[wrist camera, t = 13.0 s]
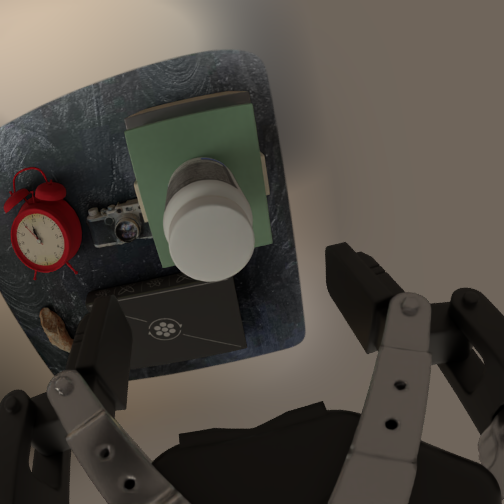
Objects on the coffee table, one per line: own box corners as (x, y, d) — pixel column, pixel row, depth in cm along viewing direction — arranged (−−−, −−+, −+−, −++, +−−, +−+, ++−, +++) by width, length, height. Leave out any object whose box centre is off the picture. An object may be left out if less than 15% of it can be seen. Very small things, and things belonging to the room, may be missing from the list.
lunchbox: (130, 125, 23) (118, 133, 19) (246, 100, 24) (257, 102, 20) (161, 243, 28) (158, 269, 24) (264, 219, 29) (277, 242, 25)
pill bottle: (153, 192, 21) (138, 250, 14) (201, 142, 20) (210, 173, 13) (203, 234, 23) (214, 305, 16) (250, 188, 23) (283, 241, 15)
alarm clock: (26, 286, 37) (-21, 198, 27) (37, 256, 42) (-1, 173, 32) (87, 277, 39) (46, 178, 29) (94, 246, 43) (62, 154, 33)
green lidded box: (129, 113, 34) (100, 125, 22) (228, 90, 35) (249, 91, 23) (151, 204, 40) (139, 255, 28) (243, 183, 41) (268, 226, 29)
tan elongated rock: (59, 298, 45) (33, 306, 43) (59, 311, 42) (31, 319, 40) (80, 345, 50) (56, 352, 48) (82, 359, 47) (57, 366, 45)
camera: (85, 207, 38) (76, 219, 34) (160, 193, 39) (157, 204, 36) (94, 242, 40) (87, 256, 37) (166, 230, 42) (165, 244, 38)
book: (229, 260, 46) (232, 271, 43) (244, 335, 53) (247, 348, 51) (88, 290, 44) (83, 302, 41) (122, 358, 51) (121, 371, 48)
